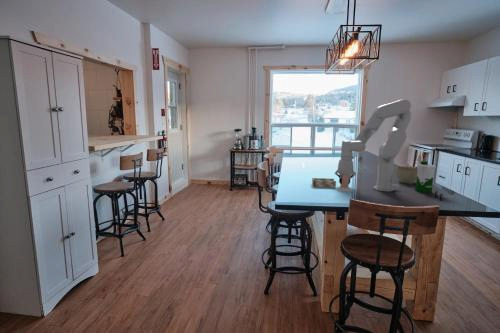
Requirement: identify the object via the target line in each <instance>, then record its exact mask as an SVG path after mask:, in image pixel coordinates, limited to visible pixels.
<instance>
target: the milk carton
mask: <svg viewBox="0 0 500 333" xmlns="http://www.w3.org/2000/svg"><path fill="white" fill-rule="evenodd" d="M428 162H429V161H426V160H420V163H418V164H416V165H417V166H416V168H418V174H417V179H416V181H415V182H416V183H415V188H414V191H415V192H419V193H422V194H429V193H433V182H434V175H435V171H436V169H437V168H436V167H437V166H436V165H434V164H429V163H428Z"/></svg>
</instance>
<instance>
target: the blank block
mask: <svg viewBox="0 0 500 333" xmlns="http://www.w3.org/2000/svg"><path fill="white" fill-rule="evenodd" d="M339 184H340V183H339ZM349 185H350V183H349V175H345V174H342V184H340V186H339V187H349Z"/></svg>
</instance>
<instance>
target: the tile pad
mask: <svg viewBox="0 0 500 333" xmlns="http://www.w3.org/2000/svg"><path fill="white" fill-rule="evenodd" d="M336 190H338V192H350V193H351V192H352V193H353V192H354V190H353V189H352V188H351V187H349V186H348V187H341V186H336Z"/></svg>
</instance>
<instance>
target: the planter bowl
mask: <svg viewBox="0 0 500 333" xmlns="http://www.w3.org/2000/svg"><path fill="white" fill-rule="evenodd" d="M395 172H396V173H395V174H396V176H397V178H398V180H399V182H400V183H402V184H414V183H415V182H416V181H417V174H418V167H413V166H403V165H401V166H396V171H395Z"/></svg>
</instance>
